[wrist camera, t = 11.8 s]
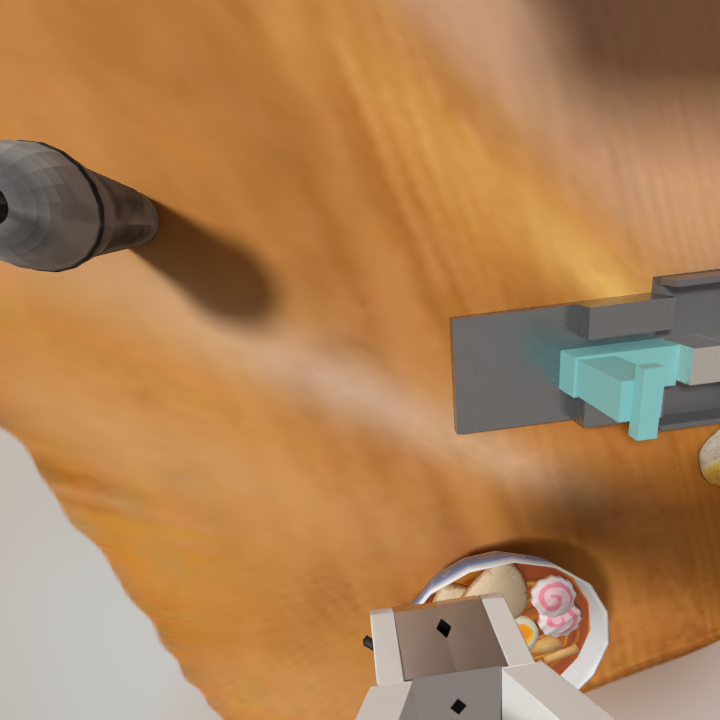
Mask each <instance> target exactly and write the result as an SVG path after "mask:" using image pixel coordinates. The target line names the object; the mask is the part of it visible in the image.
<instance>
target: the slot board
mask: <svg viewBox="0 0 720 720" xmlns="http://www.w3.org/2000/svg"><path fill="white" fill-rule="evenodd" d="M675 305H676V297H674V296H668V295H662V294H656V293H645V294H637V295H629V296H621V297H613V298H604V299H596V300H588V301H580V302H572V303H564V304H555V305H547V306H539V307H531V308H523V309H515V310H507V311H498V312H490V313H482V314H474V315H466V316H458V317H450V339H451V360H452V382H453V403H454V424H455V431H456V433H457V434H465V433H473V432H481V431H488V430H496V429H503V428H511V427H519V426H526V425H534V424H541V423H549V422H556V421H564V420H574V421H575V422H576V423H578V424H579V425H580V426H582V427H583V428H588V427H595V426H603V425H611V424H618V423H626V422H630V421H626V422H617V421H615V420H614V419H612V418H611V417H609V416H607V415H606V414H604V413H603V412H601V411H600V410H598V409H597V408H595V407H594V406H592V405H590V404H589V403H587V402H586V401H584V400H583V399H581V398H580V397H576V398H573V397H571V396H570V395H568V394H567V393H565V392H564V391H562V390H561V389H559V379H560V355H561V350H567V349H576V348H584V347H592V346H601V345H609V344H618V343H626V342H634V341H643V340H651V339H655V333H656V331H663V330H671V329H673V322H674V314H675ZM665 391H666V389H664V393H663V401H662V409H661V417H659V418H662V417H663V408H664V400H665Z"/></svg>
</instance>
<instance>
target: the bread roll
mask: <svg viewBox="0 0 720 720" xmlns="http://www.w3.org/2000/svg"><path fill="white" fill-rule="evenodd" d="M699 463H700V468H701V472H702V474H703V476H704V477H705V479H706V480H707V481H708V482H710V483H711V484H714V485H717V486H720V428H719V429H718V430H717V431H716V432H715V433H714V434H713V435H712V436H711V437H710V438H709V439H708V440H707V441H706V442H705V444H704V445H703V447H702V448H701V450H700V452H699Z"/></svg>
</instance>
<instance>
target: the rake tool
mask: <svg viewBox="0 0 720 720" xmlns="http://www.w3.org/2000/svg"><path fill="white" fill-rule="evenodd" d="M680 347H681V345H680V344H676V343H673V342H670V341H667V340H663V339H651V340H643V341H634V342H626V343H618V344H609V345H601V346H592V347H584V348H576V349H567V350H561V355H560V379H559V389H561V390H562V391H564V392H565V393H567V394H568V395H570V396H571V397H573V398H576V397H580V398H581V399H583V400H584V401H586V402H587V403H589V404H590V405H592V406H594V407H595V408H597V409H598V410H600V411H601V412H603V413H604V414H606V415H607V416H609V417H611V418H612V419H614V420H615V421H617V422H626V421H630V424H629V434H628V435H629V436H631V437H632V438H634V439H635V440H637V441H640V440H648V439H656V438H657V432H658V424H659V417H661V409H662V401H663V393H664V387H665V386H673V385H676V377H677V370H678V362H679V354H680Z"/></svg>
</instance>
